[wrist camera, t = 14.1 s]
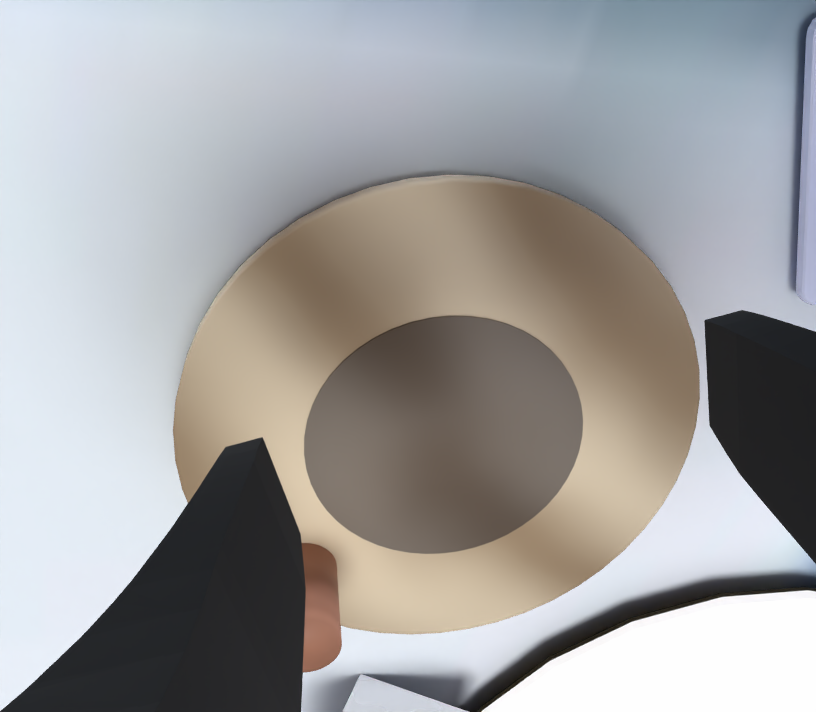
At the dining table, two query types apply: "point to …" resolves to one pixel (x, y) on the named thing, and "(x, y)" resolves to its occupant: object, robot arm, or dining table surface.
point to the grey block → (390, 699)
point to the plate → (685, 661)
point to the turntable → (446, 399)
